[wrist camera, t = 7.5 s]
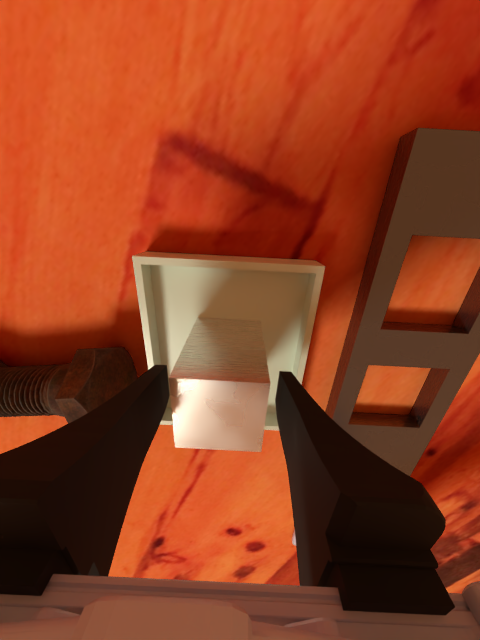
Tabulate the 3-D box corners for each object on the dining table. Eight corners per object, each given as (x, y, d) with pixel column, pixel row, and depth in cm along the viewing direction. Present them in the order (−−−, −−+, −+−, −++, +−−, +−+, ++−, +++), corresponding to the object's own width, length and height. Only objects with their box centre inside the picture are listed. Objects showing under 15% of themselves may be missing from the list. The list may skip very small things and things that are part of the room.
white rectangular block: (255, 371, 16) (261, 452, 11) (198, 368, 16) (175, 447, 11) (260, 320, 14) (270, 383, 9) (197, 316, 14) (168, 377, 9)
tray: (287, 411, 18) (292, 431, 17) (163, 405, 18) (156, 424, 17) (315, 260, 13) (325, 266, 12) (145, 251, 13) (132, 256, 12)
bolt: (-32, 355, 19) (140, 346, 18) (-35, 418, 19) (141, 412, 17) (-158, 362, 13) (82, 348, 12) (-168, 453, 13) (80, 449, 12)
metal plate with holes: (398, 466, 21) (407, 480, 20) (311, 462, 21) (315, 476, 20) (565, 146, 11) (601, 137, 10) (400, 137, 11) (418, 127, 10)
